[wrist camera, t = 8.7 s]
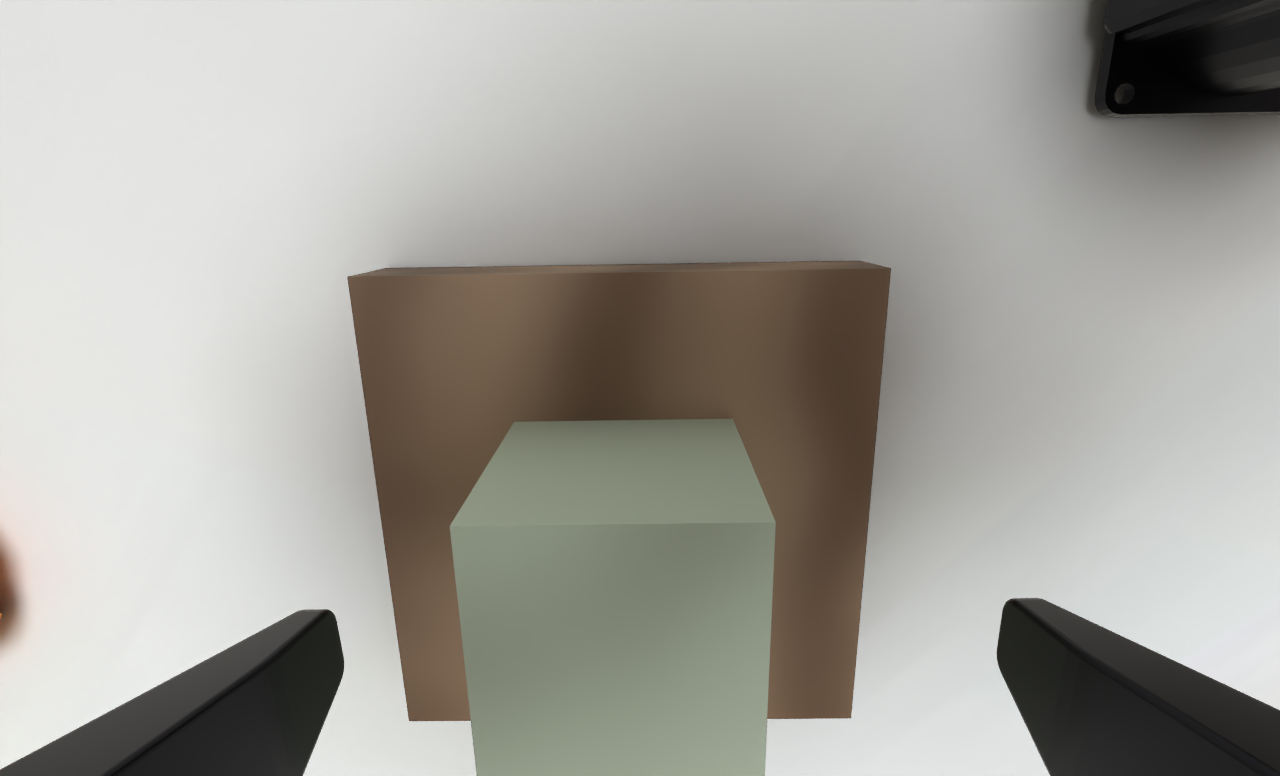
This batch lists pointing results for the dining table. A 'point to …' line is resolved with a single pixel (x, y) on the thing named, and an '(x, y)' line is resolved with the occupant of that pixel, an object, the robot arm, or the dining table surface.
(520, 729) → the sage block
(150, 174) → the dining table surface
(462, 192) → the dining table surface
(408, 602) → the walnut plinth
